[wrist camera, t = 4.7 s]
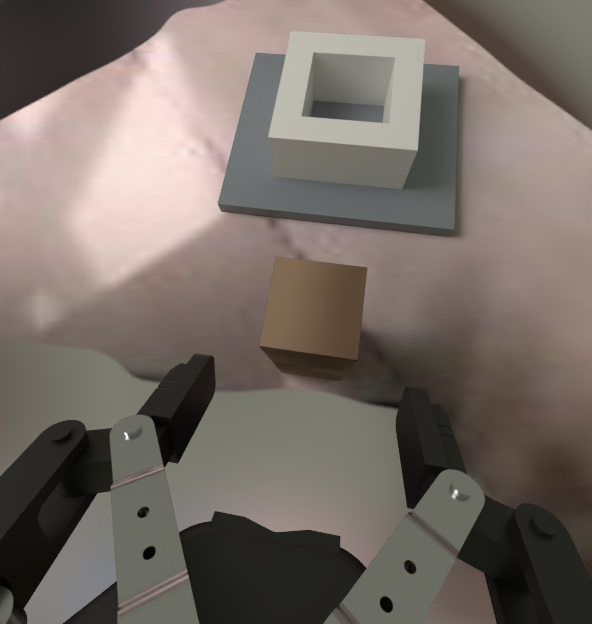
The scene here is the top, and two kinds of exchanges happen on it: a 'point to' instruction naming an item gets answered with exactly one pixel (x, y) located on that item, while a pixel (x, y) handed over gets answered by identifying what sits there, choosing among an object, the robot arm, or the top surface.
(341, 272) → the brown wooden block
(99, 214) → the top surface
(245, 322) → the top surface
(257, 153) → the socket plate
